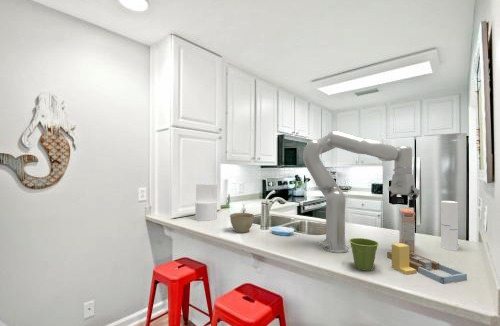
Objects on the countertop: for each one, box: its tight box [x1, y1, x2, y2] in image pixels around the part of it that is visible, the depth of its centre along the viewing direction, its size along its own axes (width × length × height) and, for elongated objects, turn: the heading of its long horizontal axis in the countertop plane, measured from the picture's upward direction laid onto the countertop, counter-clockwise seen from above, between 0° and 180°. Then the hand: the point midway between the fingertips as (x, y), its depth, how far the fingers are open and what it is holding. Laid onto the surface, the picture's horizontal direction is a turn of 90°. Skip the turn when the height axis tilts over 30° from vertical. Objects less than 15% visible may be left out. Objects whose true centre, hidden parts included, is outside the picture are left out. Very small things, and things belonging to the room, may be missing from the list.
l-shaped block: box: [391, 242, 418, 276], centre depth 104 cm, size 5×7×11 cm
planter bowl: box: [229, 212, 255, 234], centre depth 168 cm, size 16×16×11 cm
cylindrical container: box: [440, 200, 459, 252], centre depth 135 cm, size 7×7×25 cm
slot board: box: [386, 251, 440, 273], centre depth 112 cm, size 11×16×4 cm, turn 15°
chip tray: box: [417, 263, 468, 285], centre depth 99 cm, size 12×10×3 cm
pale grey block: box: [411, 256, 423, 264], centre depth 109 cm, size 3×3×3 cm
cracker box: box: [398, 207, 416, 254], centre depth 132 cm, size 14×6×21 cm, turn 154°
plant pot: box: [348, 237, 380, 272], centre depth 109 cm, size 12×12×11 cm
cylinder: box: [194, 183, 218, 222], centre depth 206 cm, size 17×17×28 cm
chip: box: [419, 259, 433, 271], centre depth 106 cm, size 3×3×3 cm
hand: (402, 205), depth 125 cm, fingers open, 9 cm apart
